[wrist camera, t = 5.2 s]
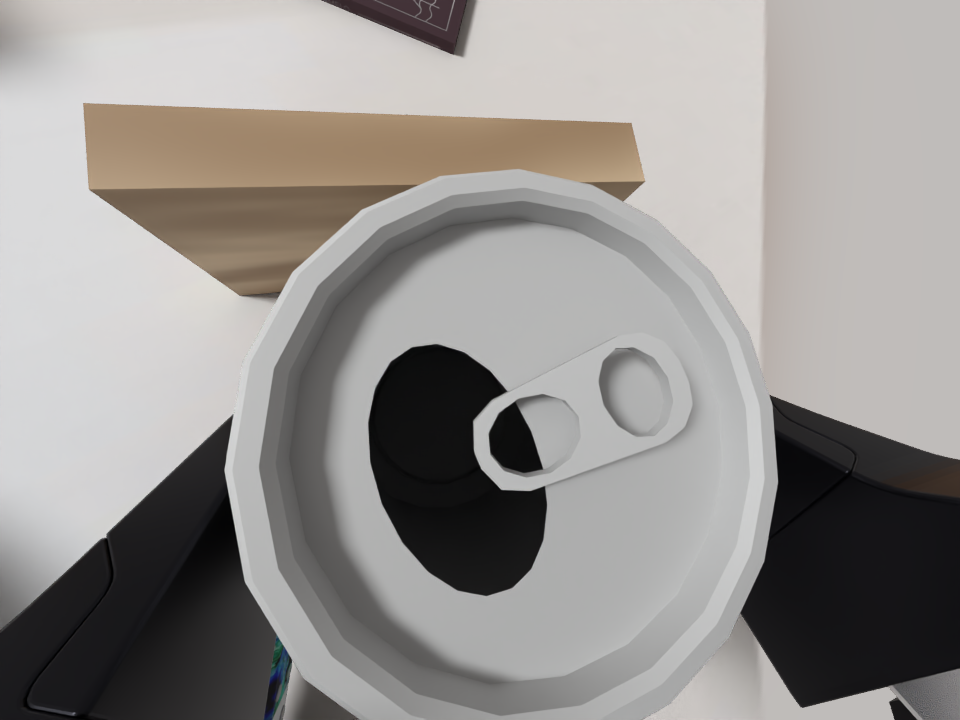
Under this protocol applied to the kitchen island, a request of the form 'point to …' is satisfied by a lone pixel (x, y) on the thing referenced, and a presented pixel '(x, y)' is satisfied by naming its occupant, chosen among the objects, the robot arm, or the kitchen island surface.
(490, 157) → the plinth board
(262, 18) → the kitchen island surface
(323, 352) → the can
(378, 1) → the chocolate bar
